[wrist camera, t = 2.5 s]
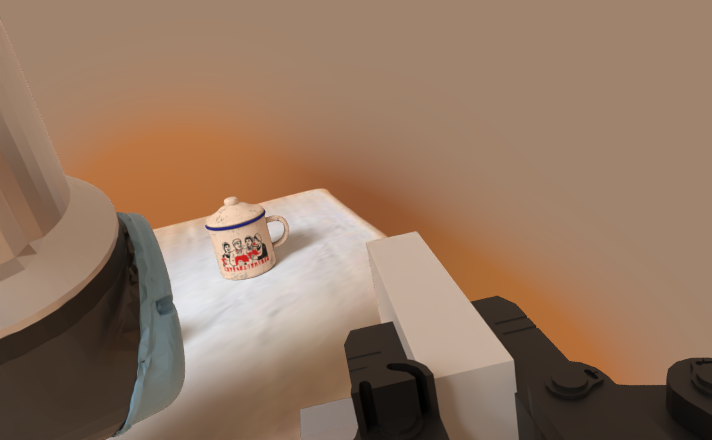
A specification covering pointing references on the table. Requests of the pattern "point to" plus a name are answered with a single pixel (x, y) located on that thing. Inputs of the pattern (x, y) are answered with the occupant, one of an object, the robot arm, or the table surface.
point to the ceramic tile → (329, 421)
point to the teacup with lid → (243, 239)
